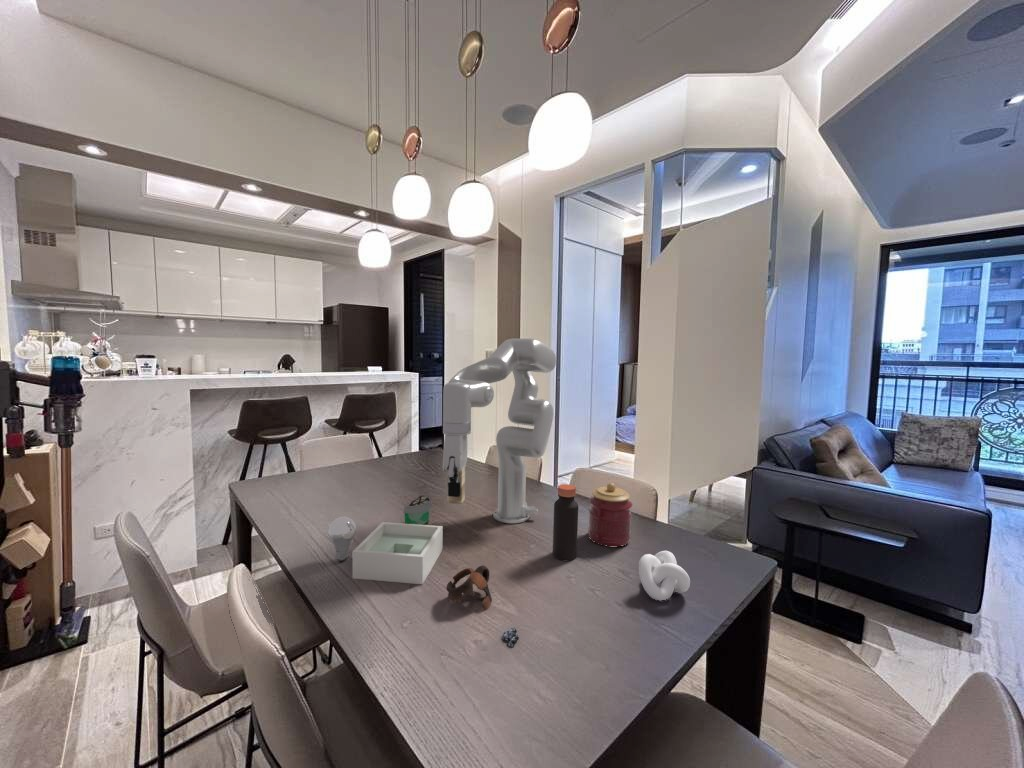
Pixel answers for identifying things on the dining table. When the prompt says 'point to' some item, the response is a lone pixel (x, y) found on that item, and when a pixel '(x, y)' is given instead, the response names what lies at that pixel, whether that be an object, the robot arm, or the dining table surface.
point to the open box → (397, 555)
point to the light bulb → (342, 536)
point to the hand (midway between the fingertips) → (456, 492)
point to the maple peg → (462, 488)
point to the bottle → (565, 523)
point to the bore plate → (400, 544)
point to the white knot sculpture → (662, 575)
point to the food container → (418, 510)
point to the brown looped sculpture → (470, 584)
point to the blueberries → (510, 637)
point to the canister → (610, 516)
